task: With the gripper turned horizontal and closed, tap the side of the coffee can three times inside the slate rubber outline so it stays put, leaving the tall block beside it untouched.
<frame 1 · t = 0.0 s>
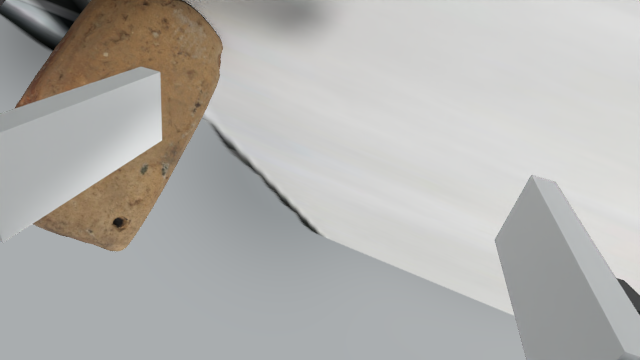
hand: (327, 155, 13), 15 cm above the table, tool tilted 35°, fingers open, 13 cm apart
block: (174, 17, 33), on the table
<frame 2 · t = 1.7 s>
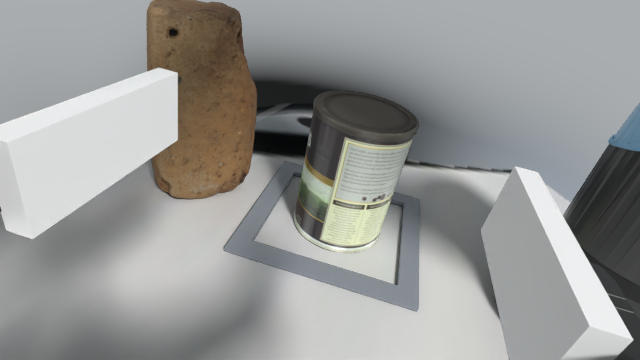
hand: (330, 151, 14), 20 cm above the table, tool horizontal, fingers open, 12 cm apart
tap outline: (336, 222, 44), on the table
coffee can: (336, 224, 44), resting in tap outline
block: (201, 183, 46), on the table
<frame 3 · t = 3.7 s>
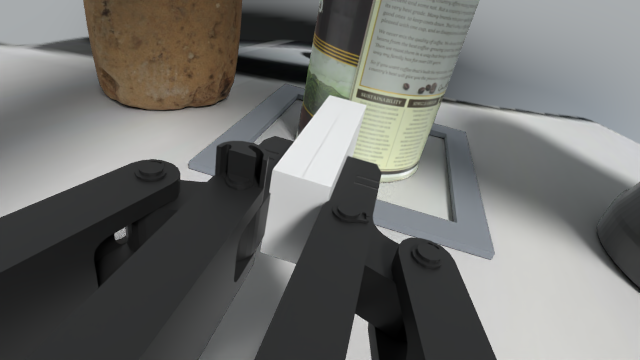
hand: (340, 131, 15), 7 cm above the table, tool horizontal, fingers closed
tap outline: (357, 148, 31), on the table
coffee can: (356, 151, 31), resting in tap outline
block: (168, 97, 33), on the table
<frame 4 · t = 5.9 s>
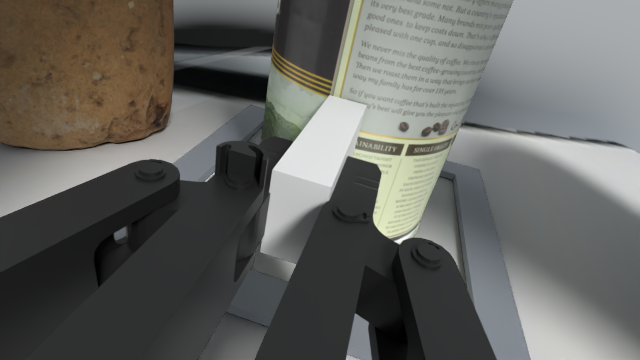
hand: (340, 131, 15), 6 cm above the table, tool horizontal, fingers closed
tap outline: (335, 202, 22), on the table
coffee can: (337, 200, 23), resting in tap outline, touching gripper
block: (83, 128, 24), on the table
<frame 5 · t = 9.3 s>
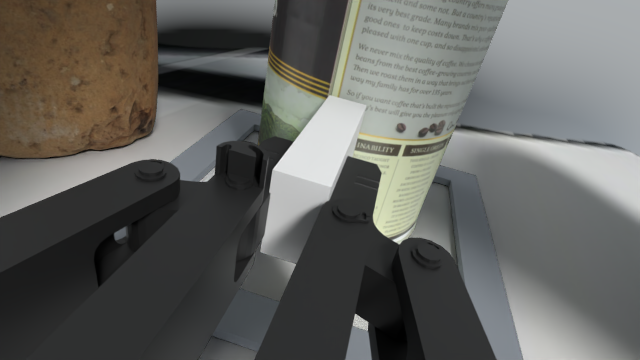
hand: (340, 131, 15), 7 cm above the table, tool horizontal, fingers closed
tap outline: (326, 212, 22), on the table
coffee can: (334, 200, 23), resting in tap outline
block: (64, 135, 24), on the table
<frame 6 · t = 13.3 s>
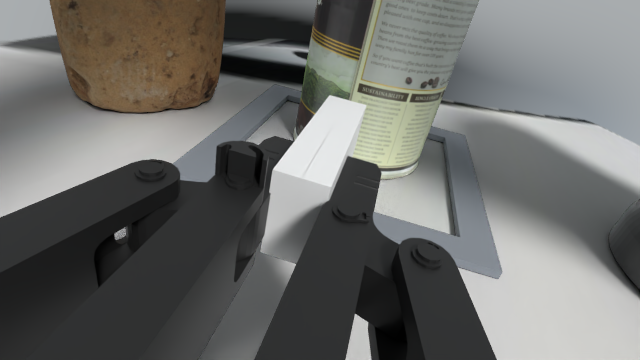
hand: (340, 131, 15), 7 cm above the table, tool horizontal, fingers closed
tap outline: (350, 154, 29), on the table
coffee can: (355, 148, 30), resting in tap outline
block: (147, 99, 31), on the table
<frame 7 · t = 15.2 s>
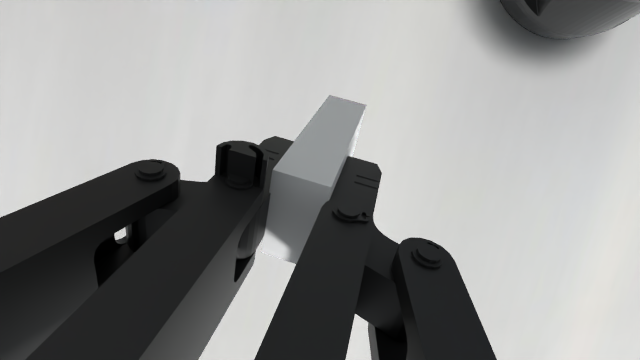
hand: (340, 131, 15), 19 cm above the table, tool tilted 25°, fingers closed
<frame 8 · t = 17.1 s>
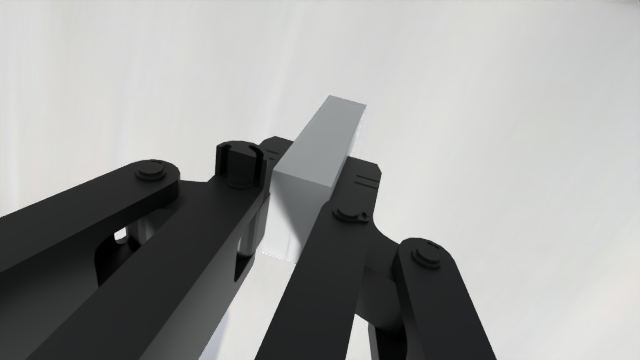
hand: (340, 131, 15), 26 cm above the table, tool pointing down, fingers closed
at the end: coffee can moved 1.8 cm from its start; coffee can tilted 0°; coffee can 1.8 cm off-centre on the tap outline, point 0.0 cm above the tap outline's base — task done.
